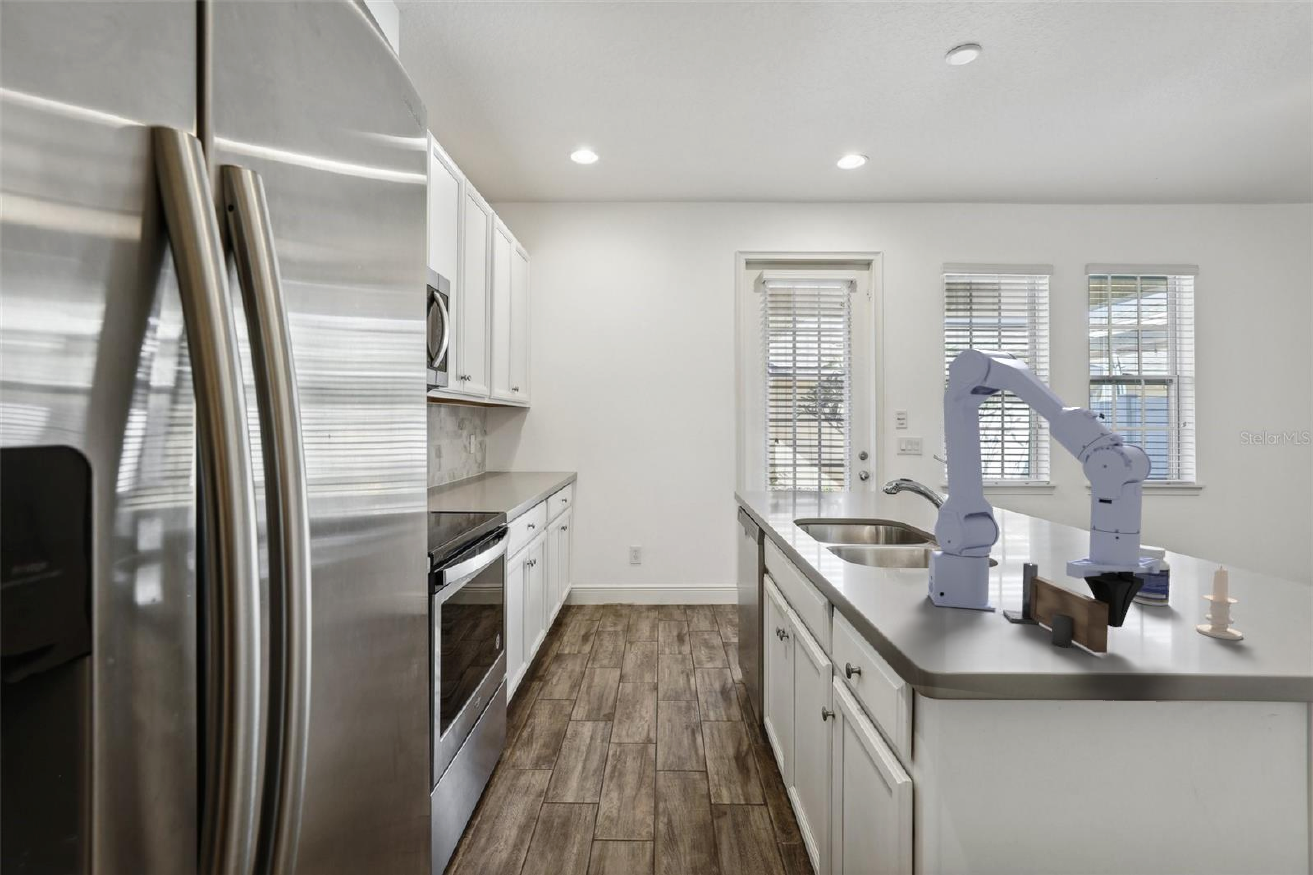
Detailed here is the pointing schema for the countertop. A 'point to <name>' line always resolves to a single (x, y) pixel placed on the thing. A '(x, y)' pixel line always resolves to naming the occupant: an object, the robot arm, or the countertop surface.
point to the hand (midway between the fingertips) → (1111, 624)
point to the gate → (1071, 612)
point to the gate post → (1024, 597)
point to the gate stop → (1062, 630)
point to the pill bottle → (1154, 579)
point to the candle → (1220, 610)
